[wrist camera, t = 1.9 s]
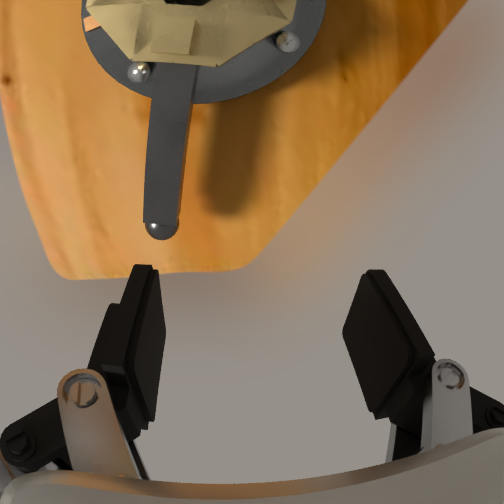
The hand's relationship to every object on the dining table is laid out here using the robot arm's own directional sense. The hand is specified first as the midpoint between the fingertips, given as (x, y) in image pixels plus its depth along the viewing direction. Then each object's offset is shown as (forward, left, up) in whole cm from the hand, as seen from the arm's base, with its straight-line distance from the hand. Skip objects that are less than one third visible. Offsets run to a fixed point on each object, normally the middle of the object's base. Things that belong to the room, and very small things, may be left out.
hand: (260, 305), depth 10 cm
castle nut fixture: (+3, -8, -15) cm, 17 cm away
